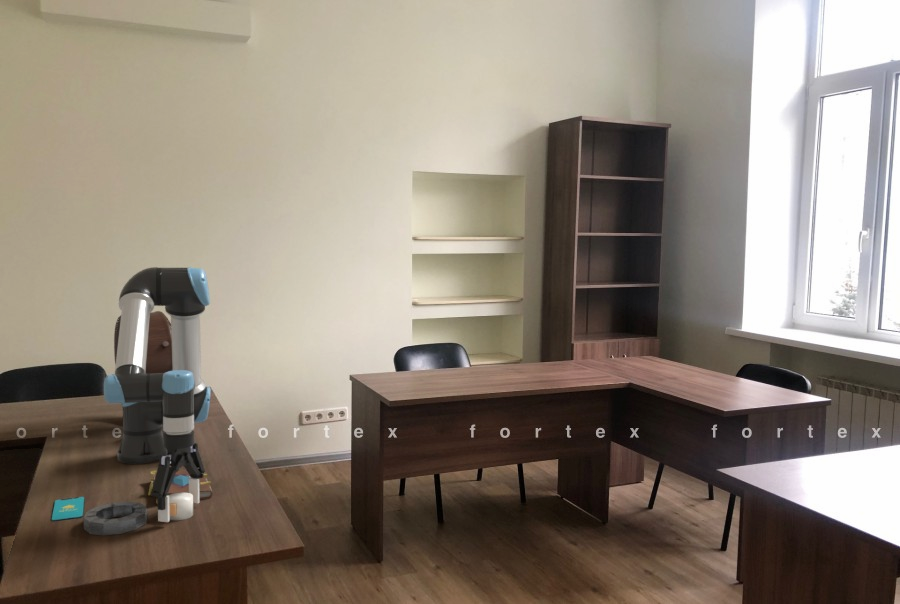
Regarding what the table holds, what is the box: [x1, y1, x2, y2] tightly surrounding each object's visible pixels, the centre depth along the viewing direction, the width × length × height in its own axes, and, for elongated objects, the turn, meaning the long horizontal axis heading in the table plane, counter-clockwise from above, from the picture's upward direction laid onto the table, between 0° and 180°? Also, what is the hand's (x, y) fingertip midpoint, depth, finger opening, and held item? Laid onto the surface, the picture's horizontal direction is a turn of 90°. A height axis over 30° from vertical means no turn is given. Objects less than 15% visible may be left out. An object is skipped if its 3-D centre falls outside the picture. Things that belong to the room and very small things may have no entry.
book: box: [147, 469, 213, 504], centre depth 207 cm, size 16×25×5 cm, turn 26°
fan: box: [113, 310, 173, 434], centre depth 268 cm, size 41×18×44 cm, turn 34°
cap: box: [168, 492, 194, 521], centre depth 187 cm, size 8×7×5 cm
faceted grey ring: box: [83, 500, 148, 536], centre depth 181 cm, size 14×14×3 cm
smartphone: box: [50, 496, 86, 522], centre depth 190 cm, size 7×1×15 cm
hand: (179, 511), depth 187 cm, fingers open, 13 cm apart
